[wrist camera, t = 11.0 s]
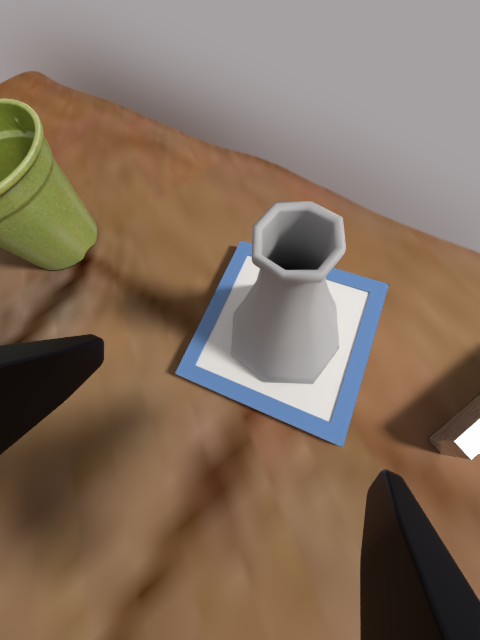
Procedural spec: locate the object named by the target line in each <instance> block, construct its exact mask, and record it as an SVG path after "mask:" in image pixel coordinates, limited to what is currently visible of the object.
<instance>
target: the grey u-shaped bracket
mask: <svg viewBox="0 0 480 640" xmlns="http://www.w3.org/2000/svg"><path fill="white" fill-rule="evenodd" d="M428 440H429V441H430V442H431V443H432V444H433V446H434V447H435V448H436V449H437V450H438V451H439V452H440V453H441V454H442V455H447V456H453V457H459V458H465V459H473V458H474V457H475V456H476V455H477V454H478V453H479V452H480V394H479V395H478V396H477V397H475V398H474V399H473V400H472V401H471V402H470V403H469V404H467V405H466V406H465V407H464V408H463V409H462V410H461V411H459V412H458V413H457V414H456V415H455V416H454V417H452V418H451V419H450V420H449V421H448V422H447V423H446V424H444V425H443V426H442V427H441V428H440V429H439V430H438V431H436V432H435V433H434V434H433V435H432V436H431V437H429V438H428Z"/></svg>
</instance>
